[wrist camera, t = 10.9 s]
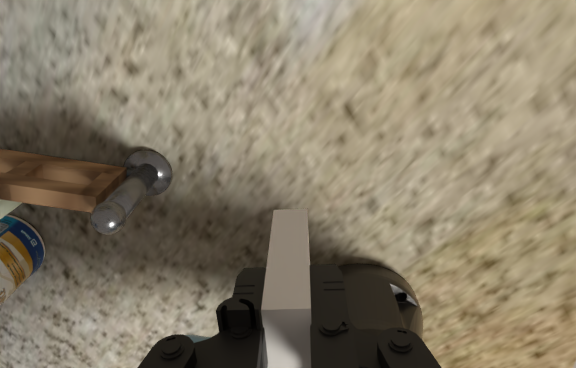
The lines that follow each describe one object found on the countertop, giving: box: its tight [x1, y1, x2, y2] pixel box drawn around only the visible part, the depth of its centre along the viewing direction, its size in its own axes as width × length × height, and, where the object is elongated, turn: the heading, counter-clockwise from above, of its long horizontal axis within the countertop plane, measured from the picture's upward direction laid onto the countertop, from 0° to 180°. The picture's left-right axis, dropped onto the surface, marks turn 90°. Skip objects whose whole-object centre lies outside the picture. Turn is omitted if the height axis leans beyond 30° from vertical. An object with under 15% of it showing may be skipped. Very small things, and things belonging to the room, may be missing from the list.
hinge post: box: [90, 150, 172, 234], centre depth 39 cm, size 5×5×12 cm
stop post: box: [0, 199, 22, 219], centre depth 41 cm, size 4×4×10 cm
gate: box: [0, 149, 127, 213], centre depth 39 cm, size 16×2×7 cm, turn 81°
